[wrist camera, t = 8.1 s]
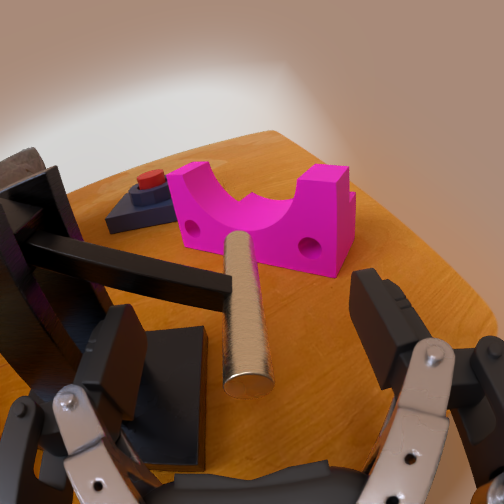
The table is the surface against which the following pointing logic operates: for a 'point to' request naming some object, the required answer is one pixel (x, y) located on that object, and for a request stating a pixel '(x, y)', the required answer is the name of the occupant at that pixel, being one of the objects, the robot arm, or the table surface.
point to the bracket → (78, 333)
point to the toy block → (270, 217)
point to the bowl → (20, 166)
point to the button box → (142, 209)
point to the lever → (168, 289)
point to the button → (151, 179)
